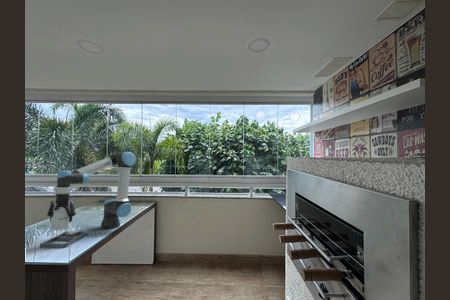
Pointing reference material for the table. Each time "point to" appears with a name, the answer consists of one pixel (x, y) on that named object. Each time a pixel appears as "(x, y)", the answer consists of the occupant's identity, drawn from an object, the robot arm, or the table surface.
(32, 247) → the table surface
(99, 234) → the table surface
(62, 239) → the grey flat rectangular frame
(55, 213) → the supplement box
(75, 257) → the table surface
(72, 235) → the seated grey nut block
